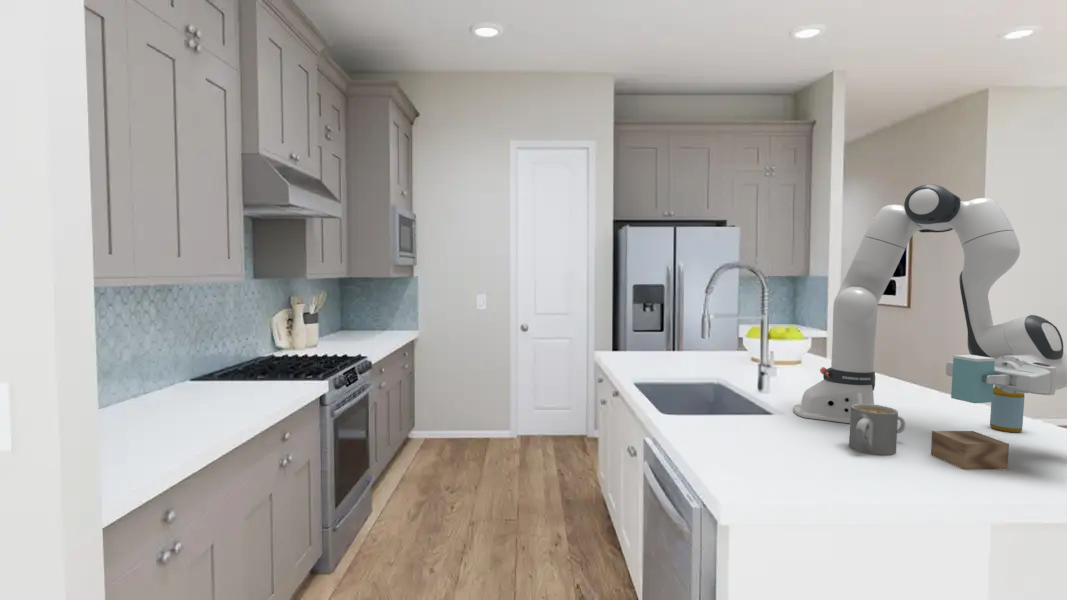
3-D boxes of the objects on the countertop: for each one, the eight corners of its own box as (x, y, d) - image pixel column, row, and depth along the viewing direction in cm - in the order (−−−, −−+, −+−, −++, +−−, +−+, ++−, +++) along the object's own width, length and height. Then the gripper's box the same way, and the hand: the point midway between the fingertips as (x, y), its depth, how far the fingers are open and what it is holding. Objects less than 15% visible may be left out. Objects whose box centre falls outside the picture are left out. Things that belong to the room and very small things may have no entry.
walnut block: (963, 470, 128) (965, 443, 127) (930, 455, 138) (932, 430, 137) (1007, 470, 128) (1008, 443, 128) (971, 455, 138) (972, 431, 138)
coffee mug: (864, 440, 148) (866, 402, 148) (904, 451, 140) (906, 411, 139) (831, 447, 142) (833, 407, 141) (871, 459, 133) (873, 417, 133)
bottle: (1010, 426, 164) (1013, 374, 163) (1028, 433, 157) (1032, 379, 156) (983, 425, 165) (987, 373, 164) (1000, 432, 158) (1004, 378, 157)
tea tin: (974, 403, 129) (977, 359, 128) (950, 398, 134) (953, 355, 133) (992, 402, 130) (995, 358, 130) (968, 396, 136) (971, 354, 135)
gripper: (970, 354, 145) (928, 355, 141) (1065, 368, 125) (1018, 370, 122) (969, 378, 146) (926, 381, 142) (1063, 397, 126) (1016, 400, 122)
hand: (969, 376), depth 132 cm, fingers closed on tea tin, 5 cm apart
